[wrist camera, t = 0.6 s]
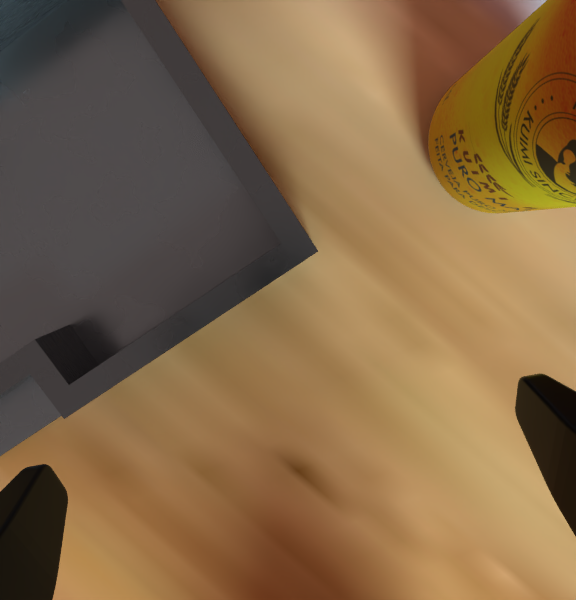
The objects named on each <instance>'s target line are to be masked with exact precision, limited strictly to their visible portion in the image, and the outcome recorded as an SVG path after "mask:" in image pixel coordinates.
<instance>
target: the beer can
mask: <svg viewBox="0 0 576 600" xmlns="http://www.w3.org/2000/svg"><path fill="white" fill-rule="evenodd" d="M428 149H429V156H430V162H431V165H432V168H433V171H434V173H435V175H436V177H437V179H438V180H439V182H440V184H441V185H442V186H443V188H444V189H445V190H446V191H447V192H448V193H449V194H450V195H451V196H452V197H453V198H454V199H456V200H457V201H458V202H460V203H461V204H463V205H465V206H467V207H469V208H471V209H474V210H477V211H481V212H487V213H508V212H519V211H531V210H543V209H554V208H566V207H576V0H547V1H546V2H545V3H544V4H543V5H541V6H540V7H539V8H538V9H537V10H536V11H535V12H534V13H532V14H531V15H530V16H529V17H528V18H527V19H526V20H525V21H524V22H522V23H521V24H520V25H519V26H518V27H517V28H516V29H515V30H514V31H512V32H511V33H510V34H509V35H508V36H507V37H506V38H505V39H503V40H502V41H501V42H500V43H499V44H498V45H497V46H496V47H495V48H493V49H492V50H491V51H490V52H489V53H488V54H487V55H486V56H484V57H483V58H482V59H481V60H480V61H479V62H478V63H477V64H476V65H474V66H473V67H472V68H471V69H470V70H469V71H468V72H467V73H466V74H464V75H463V76H462V77H461V78H460V79H459V80H458V81H457V82H456V83H454V84H453V85H452V86H451V87H450V88H449V90H448V91H447V92H446V93H445V94H444V96H443V97H442V99H441V100H440V102H439V104H438V106H437V108H436V110H435V112H434V115H433V117H432V120H431V124H430V129H429V136H428Z"/></svg>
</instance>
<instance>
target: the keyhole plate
mask: <svg viewBox="0 0 576 600" xmlns="http://www.w3.org/2000/svg"><path fill="white" fill-rule="evenodd" d="M316 252H318V250H317V249H316V247H315V246H314V244H313V243H312V241H311V239H310V238H309V236H308V235H307V233H306V232H305V230H304V229H303V227H302V226H301V224H300V223H299V221H298V219H297V218H296V216H295V215H294V213H293V212H292V210H291V209H290V207H289V206H288V204H287V202H286V201H285V199H284V198H283V196H282V195H281V193H280V192H279V190H278V189H277V187H276V186H275V184H274V182H273V181H272V179H271V178H270V176H269V175H268V173H267V172H266V170H265V169H264V167H263V166H262V164H261V162H260V161H259V159H258V158H257V156H256V155H255V153H254V152H253V150H252V149H251V147H250V146H249V144H248V142H247V141H246V139H245V138H244V136H243V135H242V133H241V132H240V130H239V129H238V127H237V126H236V124H235V122H234V121H233V119H232V118H231V116H230V115H229V113H228V112H227V110H226V109H225V107H224V106H223V104H222V102H221V101H220V99H219V98H218V96H217V95H216V93H215V92H214V90H213V89H212V87H211V86H210V84H209V82H208V81H207V79H206V78H205V76H204V75H203V73H202V72H201V70H200V69H199V67H198V66H197V64H196V62H195V61H194V59H193V58H192V56H191V55H190V53H189V52H188V50H187V49H186V47H185V46H184V44H183V42H182V41H181V39H180V38H179V36H178V35H177V33H176V32H175V30H174V29H173V27H172V26H171V24H170V22H169V21H168V19H167V18H166V16H165V15H164V13H163V12H162V10H161V9H160V7H159V6H158V4H157V2H156V1H155V0H0V456H1V455H2V454H4V453H5V452H7V451H8V450H10V449H11V448H13V447H14V446H16V445H17V444H19V443H21V442H22V441H24V440H25V439H27V438H28V437H30V436H31V435H33V434H34V433H36V432H37V431H39V430H40V429H42V428H43V427H45V426H46V425H48V424H49V423H51V422H52V421H54V420H55V419H57V418H58V417H60V416H62V417H63V418H64V419H65V418H66V417H68V416H69V415H71V414H72V413H74V412H75V411H77V410H78V409H80V408H81V407H83V406H84V405H86V404H87V403H89V402H90V401H92V400H93V399H95V398H96V397H98V396H100V395H101V394H103V393H104V392H106V391H107V390H109V389H110V388H112V387H113V386H115V385H116V384H118V383H119V382H121V381H122V380H124V379H125V378H127V377H128V376H130V375H131V374H133V373H134V372H136V371H137V370H139V369H140V368H142V367H143V366H145V365H146V364H148V363H150V362H151V361H153V360H154V359H156V358H157V357H159V356H160V355H162V354H163V353H165V352H166V351H168V350H169V349H171V348H172V347H174V346H175V345H177V344H178V343H180V342H181V341H183V340H184V339H186V338H187V337H189V336H190V335H192V334H193V333H195V332H196V331H198V330H200V329H201V328H203V327H204V326H206V325H207V324H209V323H210V322H212V321H213V320H215V319H216V318H218V317H219V316H221V315H222V314H224V313H225V312H227V311H228V310H230V309H231V308H233V307H234V306H236V305H237V304H239V303H240V302H242V301H243V300H245V299H246V298H248V297H250V296H251V295H253V294H254V293H256V292H257V291H259V290H260V289H262V288H263V287H265V286H266V285H268V284H269V283H271V282H272V281H274V280H275V279H277V278H278V277H280V276H281V275H283V274H284V273H286V272H287V271H289V270H290V269H292V268H293V267H295V266H296V265H298V264H300V263H301V262H303V261H304V260H306V259H307V258H309V257H310V256H312V255H313V254H315V253H316Z"/></svg>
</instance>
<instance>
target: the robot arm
mask: <svg viewBox="0 0 576 600" xmlns="http://www.w3.org/2000/svg"><path fill="white" fill-rule="evenodd" d="M515 411H516V416H517V420H518V422H519V424H520V426H521V429H522V431H523V433H524V435H525V438H526V440H527V442H528V444H529V446H530V449H531V451H532V453H533V455H534V457H535V460H536V462H537V464H538V466H539V469H540V471H541V473H542V475H543V477H544V480H545V482H546V484H547V486H548V488H549V490H550V492H551V494H552V496H553V498H554V500H555V502H556V504H557V505H558V507H559V509H560V511H561V512H562V514H563V516H564V517H565V519H566V521H567V523H568V524H569V526H570V528H571V529H572V531H573V533H574V534H575V536H576V391H574V390H572V389H570V388H569V387H567V386H565V385H563V384H562V383H560V382H558V381H556V380H554V379H553V378H551V377H549V376H547V375H545V374H535V375H529V376H524V377H521V378H520V380H519V382H518V388H517V397H516V406H515ZM67 504H68V495H67V491H66V489H65V487H64V486H63V484H62V483H61V481H60V480H59V478H58V477H57V475H56V474H55V472H54V471H53V470H52V468H51V467H50V466H48V465H46V464H42V465H37V466H31V467H27V468H25V469H23V470H22V471H21V472H20V473H19V474H18V475H17V476H16V477H15V478H14V479H13V480H12V481H11V482H10V483H9V484H8V485H7V486H6V487H5V488H4V489H3V490H2V491H1V492H0V600H52V599H53V594H54V590H55V585H56V580H57V575H58V569H59V562H60V554H61V547H62V540H63V533H64V526H65V519H66V512H67Z"/></svg>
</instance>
